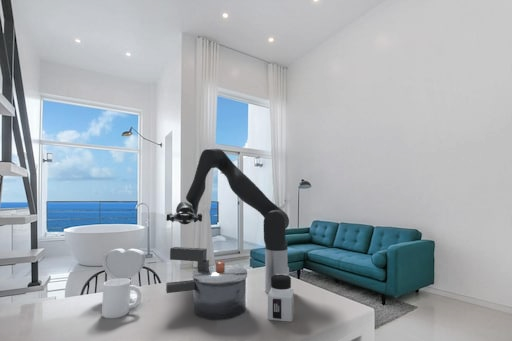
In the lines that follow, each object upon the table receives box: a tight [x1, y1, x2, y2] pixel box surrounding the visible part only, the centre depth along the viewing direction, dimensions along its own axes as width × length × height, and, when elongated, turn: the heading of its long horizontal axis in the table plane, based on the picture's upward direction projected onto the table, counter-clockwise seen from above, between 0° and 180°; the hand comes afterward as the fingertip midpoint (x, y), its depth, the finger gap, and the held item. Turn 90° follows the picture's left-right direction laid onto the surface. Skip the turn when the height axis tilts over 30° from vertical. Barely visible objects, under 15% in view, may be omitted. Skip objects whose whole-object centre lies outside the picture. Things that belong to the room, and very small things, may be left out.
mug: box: [101, 278, 142, 319], centre depth 95 cm, size 12×8×10 cm
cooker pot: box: [165, 278, 247, 321], centre depth 98 cm, size 27×18×11 cm, turn 111°
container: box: [267, 274, 295, 323], centre depth 94 cm, size 8×8×13 cm
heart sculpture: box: [101, 247, 146, 300], centre depth 111 cm, size 16×5×18 cm, turn 89°
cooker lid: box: [169, 246, 248, 284], centre depth 101 cm, size 28×19×9 cm, turn 76°
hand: (183, 219), depth 111 cm, fingers open, 8 cm apart
